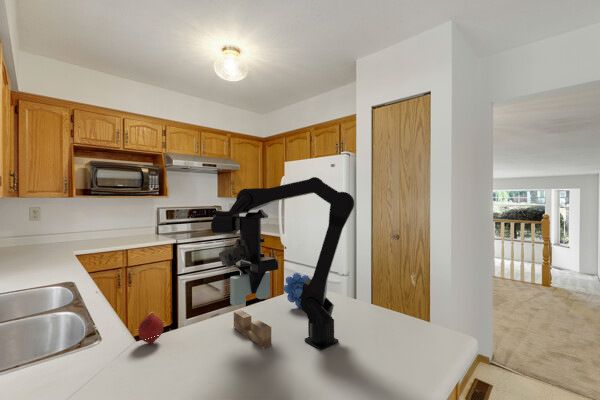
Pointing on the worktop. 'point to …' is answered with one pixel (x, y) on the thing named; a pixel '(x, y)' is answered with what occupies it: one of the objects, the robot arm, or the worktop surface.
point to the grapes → (295, 288)
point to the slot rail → (252, 328)
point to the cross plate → (247, 288)
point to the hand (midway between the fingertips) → (251, 292)
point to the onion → (150, 328)
